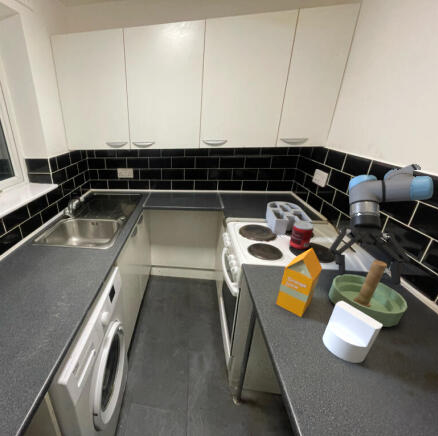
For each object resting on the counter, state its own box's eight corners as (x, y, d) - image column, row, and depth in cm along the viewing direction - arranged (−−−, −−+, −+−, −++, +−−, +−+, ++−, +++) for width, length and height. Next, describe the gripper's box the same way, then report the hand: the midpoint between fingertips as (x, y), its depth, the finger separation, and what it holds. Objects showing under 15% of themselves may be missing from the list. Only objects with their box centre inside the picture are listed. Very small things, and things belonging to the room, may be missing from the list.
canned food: (308, 243, 110) (313, 223, 106) (308, 251, 104) (314, 230, 99) (289, 239, 114) (294, 219, 109) (288, 247, 108) (293, 226, 103)
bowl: (382, 294, 79) (389, 280, 76) (411, 336, 64) (421, 320, 62) (322, 283, 85) (326, 270, 82) (337, 318, 70) (343, 304, 68)
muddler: (366, 301, 75) (385, 260, 69) (372, 310, 72) (392, 268, 65) (351, 298, 77) (368, 258, 70) (356, 306, 73) (374, 265, 67)
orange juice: (310, 302, 76) (327, 252, 68) (301, 317, 71) (318, 264, 63) (285, 291, 82) (298, 242, 74) (275, 303, 77) (287, 253, 68)
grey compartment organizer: (272, 234, 119) (275, 219, 116) (262, 213, 144) (265, 200, 140) (308, 237, 115) (313, 222, 112) (292, 215, 140) (295, 202, 136)
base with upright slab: (315, 339, 64) (327, 307, 59) (335, 327, 67) (348, 296, 62) (352, 368, 57) (369, 335, 52) (372, 354, 60) (391, 320, 55)
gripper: (404, 226, 78) (411, 289, 72) (317, 217, 87) (317, 273, 80) (421, 218, 71) (431, 286, 65) (325, 209, 80) (325, 269, 74)
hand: (368, 279), depth 73 cm, fingers open, 13 cm apart
